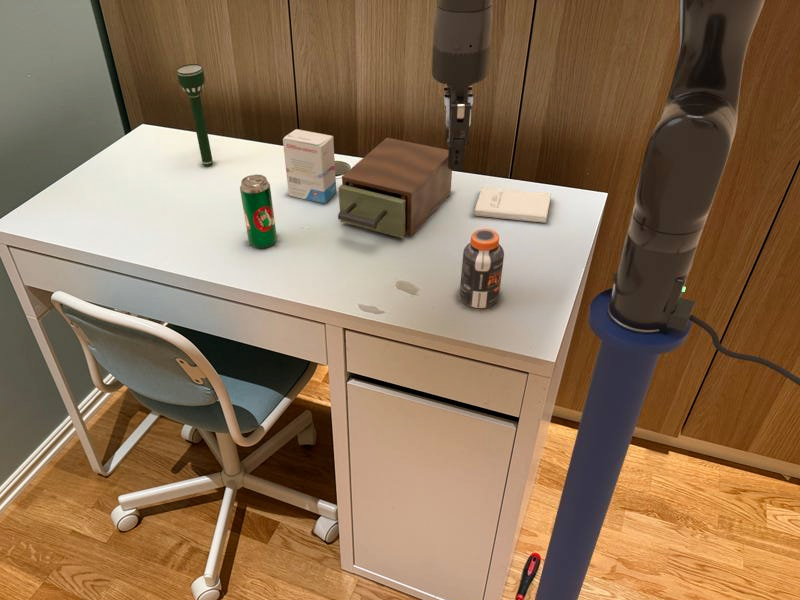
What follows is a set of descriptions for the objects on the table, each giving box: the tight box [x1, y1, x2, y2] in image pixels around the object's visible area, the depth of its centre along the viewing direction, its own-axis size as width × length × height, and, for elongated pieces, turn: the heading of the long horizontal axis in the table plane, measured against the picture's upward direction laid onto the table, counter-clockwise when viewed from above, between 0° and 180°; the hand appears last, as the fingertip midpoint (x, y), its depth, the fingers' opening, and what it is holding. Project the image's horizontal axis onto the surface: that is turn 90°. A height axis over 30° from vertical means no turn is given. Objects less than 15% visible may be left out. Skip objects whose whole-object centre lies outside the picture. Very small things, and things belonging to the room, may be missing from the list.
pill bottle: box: [459, 228, 505, 309], centre depth 107 cm, size 6×6×11 cm
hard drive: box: [474, 187, 552, 224], centre depth 128 cm, size 2×8×12 cm
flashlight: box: [176, 63, 214, 168], centre depth 143 cm, size 5×5×20 cm
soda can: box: [239, 174, 278, 249], centre depth 123 cm, size 5×5×12 cm
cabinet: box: [341, 137, 453, 238], centre depth 129 cm, size 17×14×9 cm
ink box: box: [282, 128, 337, 205], centre depth 134 cm, size 9×5×12 cm, turn 59°
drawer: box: [337, 183, 407, 239], centre depth 126 cm, size 20×12×7 cm, turn 148°
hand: (453, 154), depth 105 cm, fingers open, 8 cm apart
